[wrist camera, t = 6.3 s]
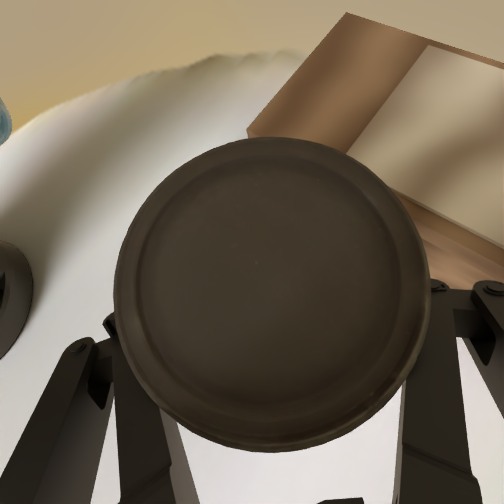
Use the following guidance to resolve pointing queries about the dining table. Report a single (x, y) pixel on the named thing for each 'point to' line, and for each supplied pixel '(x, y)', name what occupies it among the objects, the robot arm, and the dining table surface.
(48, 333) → the dining table surface
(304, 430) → the coffee can
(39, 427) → the robot arm
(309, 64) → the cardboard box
